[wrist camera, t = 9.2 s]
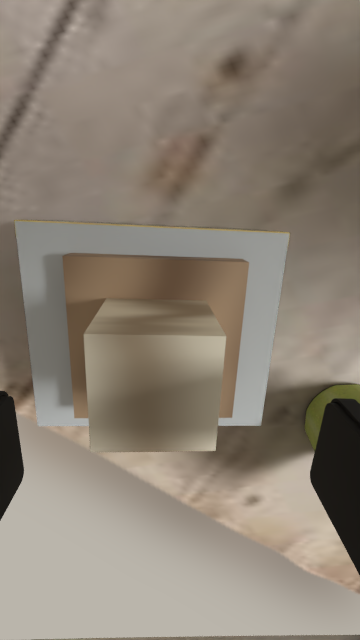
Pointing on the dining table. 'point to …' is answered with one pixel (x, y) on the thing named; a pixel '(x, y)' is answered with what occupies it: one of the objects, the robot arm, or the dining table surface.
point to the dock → (129, 239)
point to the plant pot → (318, 407)
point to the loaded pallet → (153, 283)
